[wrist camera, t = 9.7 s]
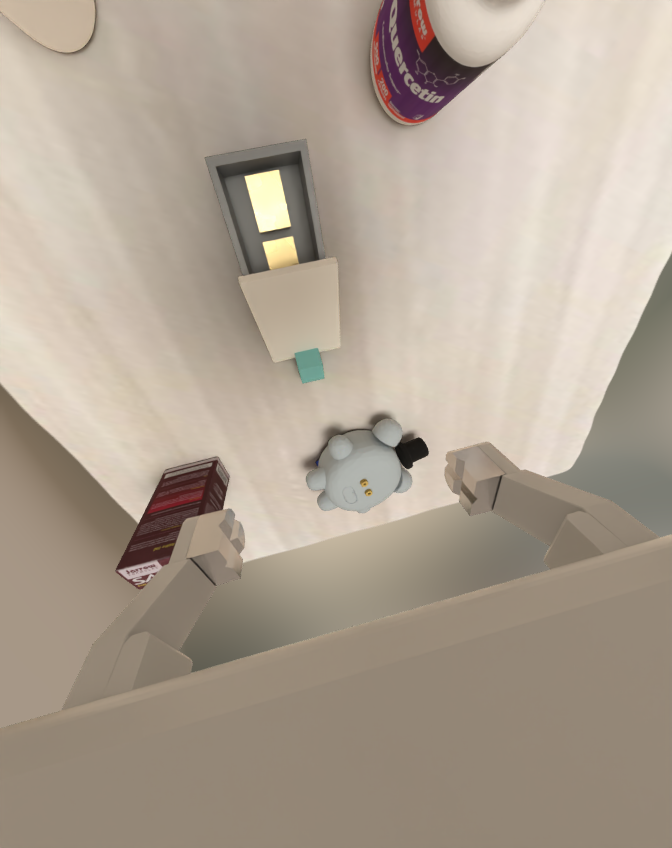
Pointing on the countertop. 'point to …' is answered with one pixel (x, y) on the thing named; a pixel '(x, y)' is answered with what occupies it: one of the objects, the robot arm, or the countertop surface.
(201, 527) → the robot arm
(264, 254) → the tub
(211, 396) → the countertop surface
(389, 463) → the figurine
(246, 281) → the lid
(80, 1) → the can
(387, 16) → the pill bottle
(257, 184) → the brass block
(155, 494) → the supplement box
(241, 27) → the countertop surface
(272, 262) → the brass block
